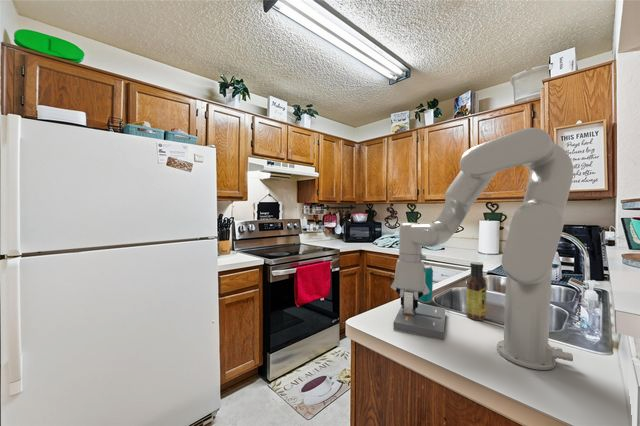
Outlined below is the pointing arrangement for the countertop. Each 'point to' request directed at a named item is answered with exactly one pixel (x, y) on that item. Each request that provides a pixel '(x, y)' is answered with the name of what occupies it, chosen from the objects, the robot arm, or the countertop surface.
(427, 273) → the beverage can
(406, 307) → the slide lever
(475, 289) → the sauce bottle
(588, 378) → the countertop surface
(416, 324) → the panel
